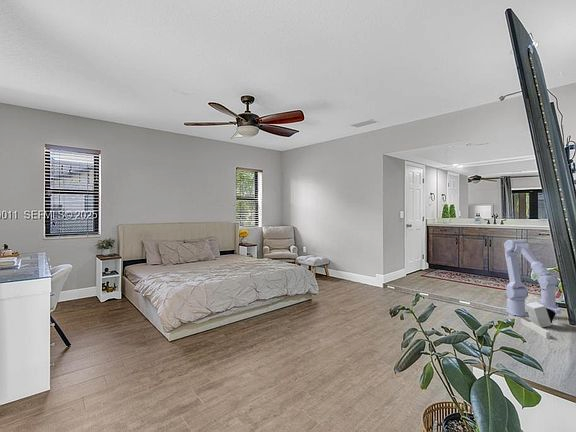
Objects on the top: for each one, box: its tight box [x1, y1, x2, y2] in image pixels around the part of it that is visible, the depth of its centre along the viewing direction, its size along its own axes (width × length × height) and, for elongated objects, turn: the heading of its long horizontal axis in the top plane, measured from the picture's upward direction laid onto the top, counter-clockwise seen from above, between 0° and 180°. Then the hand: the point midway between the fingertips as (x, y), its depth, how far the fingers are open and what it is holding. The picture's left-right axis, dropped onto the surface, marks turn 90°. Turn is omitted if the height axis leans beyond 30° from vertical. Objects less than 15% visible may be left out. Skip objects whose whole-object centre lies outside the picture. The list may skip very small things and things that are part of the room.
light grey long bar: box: [519, 316, 551, 339], centre depth 154 cm, size 21×2×3 cm, turn 171°
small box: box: [525, 301, 553, 328], centre depth 160 cm, size 8×6×10 cm
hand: (548, 322), depth 159 cm, fingers closed, pressing on small box
